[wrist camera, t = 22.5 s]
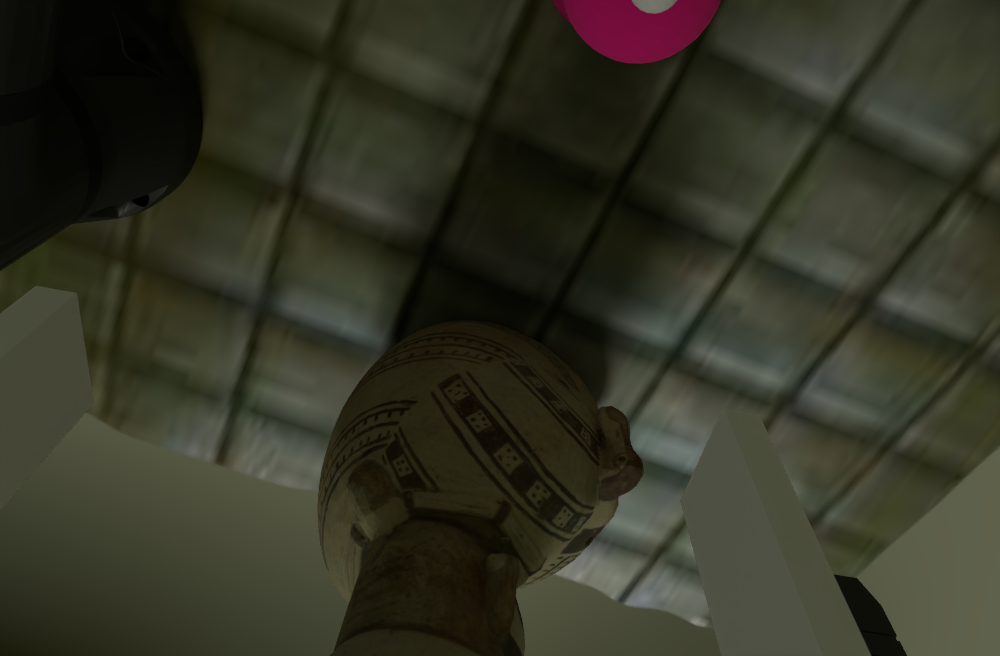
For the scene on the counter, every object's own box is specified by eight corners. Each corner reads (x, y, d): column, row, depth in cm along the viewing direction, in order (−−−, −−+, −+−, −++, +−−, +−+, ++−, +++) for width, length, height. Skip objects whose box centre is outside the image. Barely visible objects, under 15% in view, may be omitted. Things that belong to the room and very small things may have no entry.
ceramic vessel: (646, 449, 57) (733, 884, 31) (411, 493, 61) (316, 912, 35) (596, 247, 48) (660, 627, 22) (323, 315, 52) (109, 703, 26)
